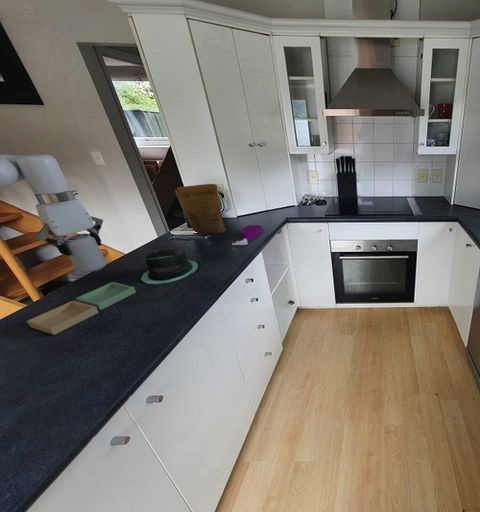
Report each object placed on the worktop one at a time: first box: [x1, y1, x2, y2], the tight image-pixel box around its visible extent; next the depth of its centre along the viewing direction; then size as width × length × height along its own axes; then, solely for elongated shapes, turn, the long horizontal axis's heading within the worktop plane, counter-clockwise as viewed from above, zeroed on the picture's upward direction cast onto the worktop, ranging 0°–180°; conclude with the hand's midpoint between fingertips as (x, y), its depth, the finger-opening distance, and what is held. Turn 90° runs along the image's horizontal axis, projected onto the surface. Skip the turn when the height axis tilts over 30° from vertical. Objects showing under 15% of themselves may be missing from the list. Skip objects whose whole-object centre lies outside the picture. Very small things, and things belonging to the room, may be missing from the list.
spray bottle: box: [231, 224, 264, 246], centre depth 152 cm, size 3×11×24 cm
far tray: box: [75, 281, 137, 311], centre depth 99 cm, size 11×11×2 cm
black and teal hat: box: [140, 248, 199, 285], centre depth 117 cm, size 15×19×20 cm
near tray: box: [26, 300, 100, 336], centre depth 88 cm, size 11×11×2 cm
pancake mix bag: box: [174, 183, 227, 236], centre depth 151 cm, size 7×19×28 cm, turn 112°
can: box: [63, 233, 107, 274], centre depth 91 cm, size 8×8×12 cm
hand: (83, 249), depth 91 cm, fingers closed on can, 7 cm apart
